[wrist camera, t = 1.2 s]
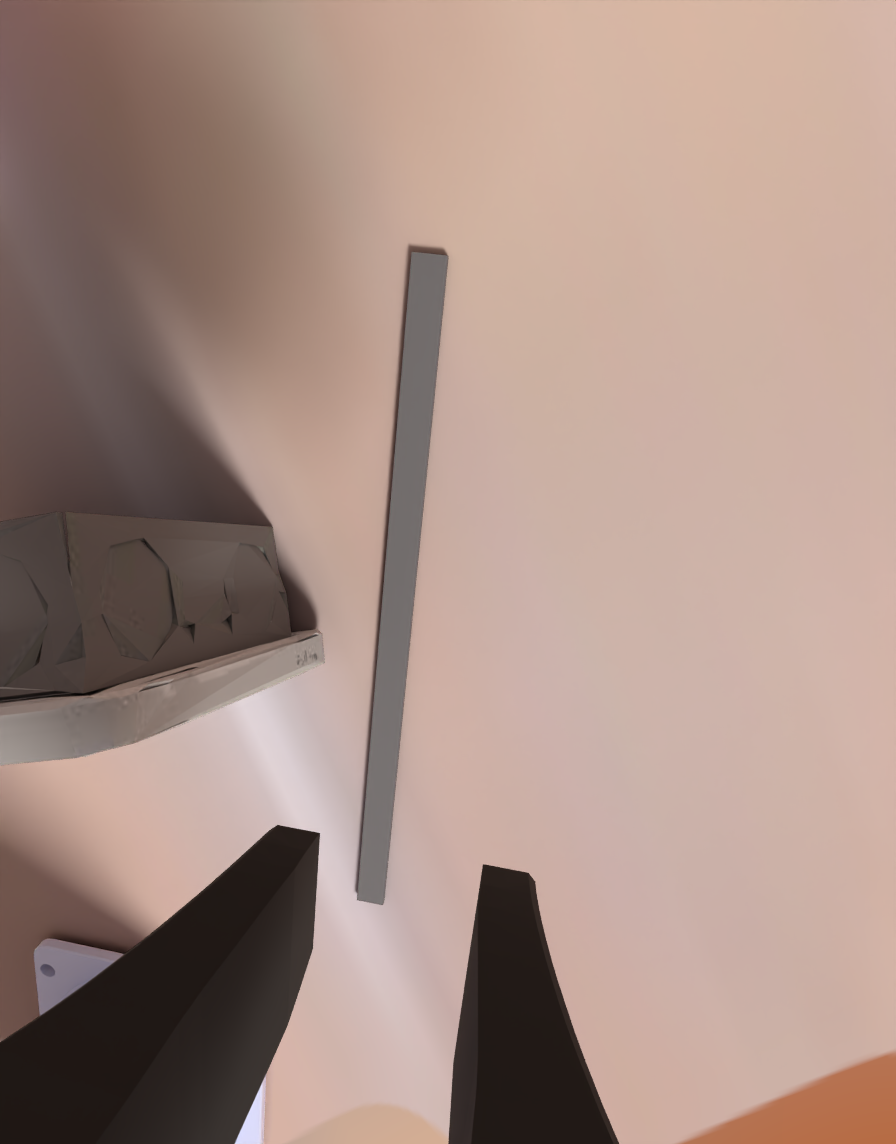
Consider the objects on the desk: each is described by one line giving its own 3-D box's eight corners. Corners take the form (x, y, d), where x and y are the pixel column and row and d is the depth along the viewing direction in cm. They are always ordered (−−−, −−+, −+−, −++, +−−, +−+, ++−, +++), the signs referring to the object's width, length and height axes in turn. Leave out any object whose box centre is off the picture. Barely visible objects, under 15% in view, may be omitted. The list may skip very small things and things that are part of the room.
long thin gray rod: (384, 901, 22) (382, 905, 22) (358, 896, 22) (357, 899, 22) (448, 256, 16) (447, 255, 16) (412, 252, 16) (411, 251, 16)
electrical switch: (40, 691, 21) (-341, 894, 12) (-11, 519, 20) (-464, 605, 11) (339, 655, 20) (147, 861, 11) (299, 465, 19) (51, 515, 10)
